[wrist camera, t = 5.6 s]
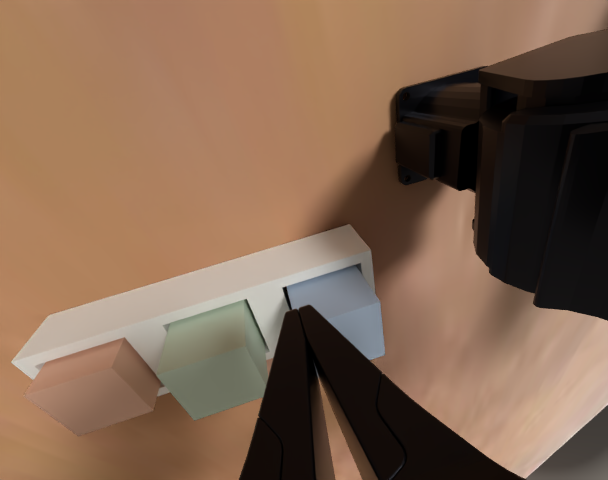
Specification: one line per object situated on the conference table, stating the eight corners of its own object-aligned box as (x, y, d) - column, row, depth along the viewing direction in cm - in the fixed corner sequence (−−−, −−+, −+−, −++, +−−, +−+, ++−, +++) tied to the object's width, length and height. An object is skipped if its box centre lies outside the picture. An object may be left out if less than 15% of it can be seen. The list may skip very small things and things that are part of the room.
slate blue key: (349, 256, 20) (380, 301, 16) (357, 304, 23) (385, 354, 19) (283, 276, 20) (297, 328, 16) (299, 323, 22) (314, 379, 18)
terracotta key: (137, 308, 20) (111, 367, 16) (168, 350, 23) (153, 410, 19) (67, 329, 20) (22, 395, 16) (107, 370, 23) (78, 436, 18)
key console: (349, 223, 22) (370, 249, 18) (359, 290, 26) (378, 322, 22) (48, 315, 20) (11, 362, 17) (106, 372, 24) (84, 420, 20)
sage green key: (243, 289, 20) (245, 345, 15) (263, 335, 22) (270, 394, 18) (173, 310, 19) (155, 375, 15) (202, 355, 22) (194, 420, 18)
